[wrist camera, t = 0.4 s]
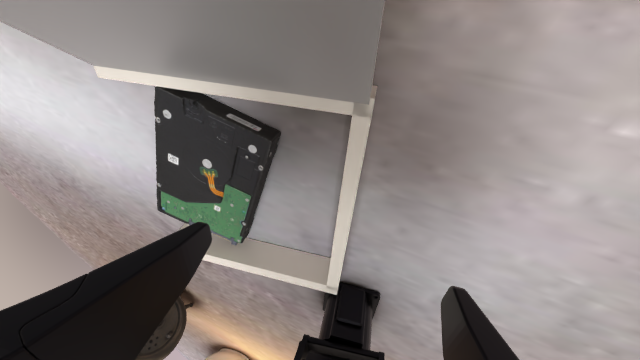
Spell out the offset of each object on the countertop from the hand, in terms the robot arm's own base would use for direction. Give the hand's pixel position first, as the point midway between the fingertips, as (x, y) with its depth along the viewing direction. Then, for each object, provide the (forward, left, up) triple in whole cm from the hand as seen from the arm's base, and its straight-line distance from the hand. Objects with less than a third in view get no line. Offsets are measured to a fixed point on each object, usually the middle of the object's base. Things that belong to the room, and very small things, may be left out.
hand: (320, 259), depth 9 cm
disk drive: (-7, +13, -14) cm, 20 cm away
